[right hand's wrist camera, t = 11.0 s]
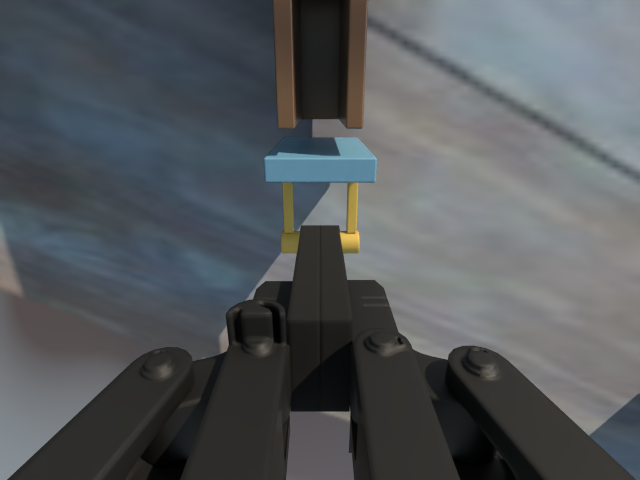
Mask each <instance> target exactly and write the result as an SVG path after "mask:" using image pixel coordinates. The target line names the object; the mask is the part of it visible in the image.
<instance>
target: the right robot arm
mask: <svg viewBox="0 0 640 480" xmlns="http://www.w3.org/2000/svg"><path fill="white" fill-rule="evenodd" d="M226 321H227V330H228V339H229V347H228V349H227V351H226V352H224V353H222V354H220V355H217V356H214V357H210V358H206V359H201V360H197V361H192V357H191V355H190V354H189V353H188V352H187V351H186V350H183V349H180V348H174V347H166V348H161V349H156V350H153V351H151V352H148V353H146V354H144V355H142V356H140V357H139V358H138V359H136V360H135V361H133V362H132V363H131V364H130V365H129V366H128V367H127V368H126V369H125V370H124V371H123V372H122V373H120V374H119V375H118V376H117V377H116V378H115V379H114V380H113V381H112V382H111V383H110V384H109V385H108V386H107V387H106V388H104V389H103V390H102V391H101V392H100V393H99V394H98V395H97V396H96V397H95V398H94V399H93V400H92V401H91V402H90V403H88V404H87V405H86V406H85V407H84V408H83V409H82V410H81V411H80V412H79V413H78V414H77V415H76V416H75V417H74V418H73V419H72V420H70V421H69V422H68V423H67V424H66V425H65V426H64V427H63V428H62V429H61V430H60V431H59V432H58V433H57V434H55V435H54V436H53V437H52V438H51V439H50V440H49V441H48V442H47V443H46V444H45V445H44V446H43V447H42V448H41V449H40V450H38V451H37V452H36V453H35V454H34V455H33V456H32V457H31V458H30V459H29V460H28V461H27V462H26V463H25V464H23V465H22V466H21V467H20V468H19V469H18V470H17V471H16V472H15V473H14V474H13V475H12V476H11V477H10V478H9V479H7V480H286V471H287V459H288V448H289V436H290V416H289V413H290V410H291V411H349V410H350V411H351V416H350V441H349V453H352V458H353V470H354V480H636V479H635V478H633V477H632V476H631V475H630V474H629V473H628V472H627V471H626V470H625V469H624V468H623V467H622V466H621V465H620V464H618V463H617V462H616V461H615V460H614V459H613V458H612V457H611V456H610V455H609V454H608V453H607V452H606V451H604V450H603V449H602V448H601V447H600V446H599V445H598V444H597V443H596V442H595V441H594V440H593V439H592V438H591V437H589V436H588V435H587V434H586V433H585V432H584V431H583V430H582V429H581V428H580V427H579V426H578V425H577V424H575V423H574V422H573V421H572V420H571V419H570V418H569V417H568V416H567V415H566V414H565V413H564V412H563V411H562V410H560V409H559V408H558V407H557V406H556V405H555V404H554V403H553V402H552V401H551V400H550V399H549V398H548V397H546V396H545V395H544V394H543V393H542V392H541V391H540V390H539V389H538V388H537V387H536V386H535V385H534V384H533V383H531V382H530V381H529V380H528V379H527V378H526V377H525V376H524V375H523V374H522V373H521V372H520V371H519V370H517V369H516V368H515V367H514V366H513V365H512V364H511V363H510V362H509V361H508V360H506V359H505V358H504V357H502V356H501V355H499V354H498V353H496V352H494V351H491V350H489V349H486V348H482V347H477V346H461V347H458V348H455V349H453V351H452V352H451V353H450V354H449V357H448V360H446V359H441V358H436V357H432V356H428V355H425V354H421V353H419V352H417V351H415V350H413V349H412V346H411V344H410V343H409V341H408V340H407V338H406V337H404V336H403V335H402V334H400V333H399V332H398V329H397V326H396V323H395V321H394V318H393V315H392V312H391V309H390V307H389V303H388V300H387V297H386V294H385V291H384V288H383V287H382V286H381V285H380V284H378V283H377V282H376V281H375V280H347V276H346V270H345V263H344V256H343V250H342V243H341V236H340V229H339V226H301V229H300V236H299V243H298V250H297V256H296V263H295V270H294V276H293V281H265V282H264V283H263V284H262V285H261V286H260V287H258V288H257V289H256V292H255V295H254V298H253V300H247V301H244V302H241V303H238V304H236V305H235V306H233V307H232V308H230V309H229V311H228V312H227V313H226Z"/></svg>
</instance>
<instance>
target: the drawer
mask: <svg viewBox="0 0 640 480" xmlns="http://www.w3.org/2000/svg"><path fill="white" fill-rule="evenodd" d="M367 16H368V0H273V23H274V47H275V72H276V97H277V121H278V128H279V129H294V128H295V127H296V126H297V125H298V123H299V122H300V121H301V120H302V119H339V120H340V121H341V122H342V124H343V125H344V126H345V127H346V128H347V129H362V128H363V112H364V88H365V64H366V40H367ZM376 165H377V159H376V157H375V156H374V155H373V154H372V153H371V152H370V151H369V150H368V149H367V148H366V147H365V146H364V144H363V143H362V142H361V141H360V140H359V139H358V138H309V137H284V138H282V139H281V141H280V142H279V143H278V144H277V145H276V146H275V147H274V148H273V149H272V150H271V152H270V153H269V154H268V155H267V156H266V157H265V158H264V172H265V182H267V183H282V188H283V214H284V231H282V233H281V251H282V253H297V250H298V243H299V236H300V231H294V209H293V183H348V190H347V225H346V230H347V231H340V236H341V243H342V250H343V253H358V252H359V246H360V239H359V232H358V231H356V225H357V200H358V183H374V182H375V181H376Z"/></svg>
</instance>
